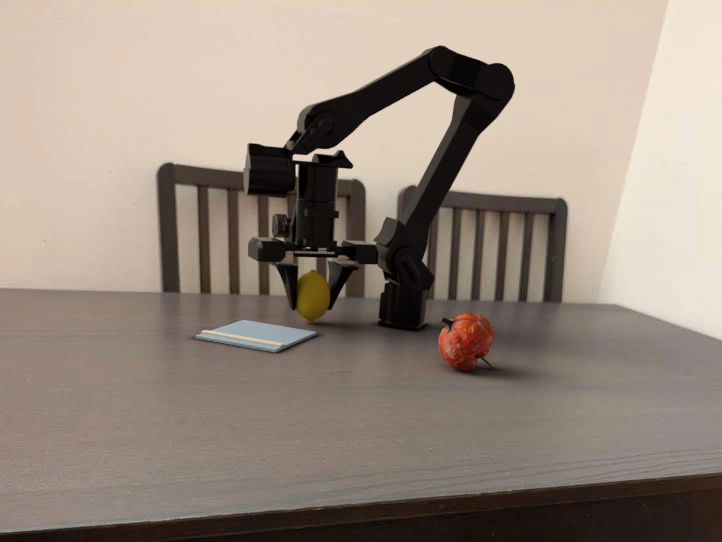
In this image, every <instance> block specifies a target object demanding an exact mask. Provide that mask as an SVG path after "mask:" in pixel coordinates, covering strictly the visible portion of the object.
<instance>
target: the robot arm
mask: <svg viewBox="0 0 722 542" xmlns="http://www.w3.org/2000/svg"><path fill="white" fill-rule="evenodd" d="M432 83H435V84H437V85H438V86H439V87H442V88H443V89H445V90H446V91H447V92H449V93H451V94H453V95H455V98H454V101H453V108H452V113H451V121H450V123H449V125H448V126H447V129H446V131H445V133H444V134H443V137H442V139H441V141H440V142H439V144H438V146H437V148H436V150H435V151H434V153H433V156H432V158H431V159H430V161H429V163H428V165H427V167H426V169H425V171H424V173H423V175H422V176H421V178H420V179H419V182H418V184H417V186H416V188H415V190H414V192H413V194H412V195H411V197H410V200H409V201H408V203H407V204H406V207H405V209H404V210H403V211H402V213H400V214H399V216H398V217H396V218H393V217H389V216H386V217H385V218H384V220H383V221H382V222H383V223H382V225H381V229H380V231H379V233H378V234H377V235H376V236H375V237H374V238H373V240H372V242H374V243H375V244H374V243H371V242H367V241H365V240H348V239H347V240H345V239H342V242H341V244H340V245H338V240H335V233H336V219H339V218H340V210H337V201H338V184H339V169H346V170H353V168H354V163H353V162H351V161H350V159H349V158H348V157H347V155H346V153H345V151H344V149H337V151H336V152H334V153H333V154H326V153H325V154H324V153H314V151H316V150H330V149H333V148H335V147H336V146H338V145H339V144H341V143H342V142H343V141H344V140H345V139H347V138H348V137H349V136H350V135H352V134H353V133H354V132H355V131H356V130H357V129H358V128H359V127H360V126H361V125H363V123H364V122H365V121H366V120H368V119H369V118H371V117H373V116H374V115H376V114H377V113H379V112H381V111H383V110H385V109H386V108H388V107H390V106H392V105H393V104H394V105H395V104H396V103H398V102H399V101H401V100H403V99H405V98H406V97H408V96H411V95H412V94H414V93H416V92H418V91H419V90H422V89H423V88H425V87H427V86H428V85H430V84H432ZM515 91H516V84H515V78H514V74H513V72H512V70H511V69H510V68H509V67H508V66H507V65H506V64H505V63H502V62H492V63H487V62H485V61H483V60H480V59H477V58H474V57H472V56H468V55H465V54H462V53H460V52H457V51H456V50H455V51H454V50H453V49H451V48H449V47H447V46H446V45H436V46H433V47H430V48H427V49H425V50H423V51H422V52H421V53H420V54H419V55H418V56H416V57H414V58H412V59H410V60H408V61H406V62H405V63H403V64H401V65H399V66H397V67H395V68H394V69H391V70H390V71H388V72H386V73H385V74H382V75H381V76H379V77H377V78H375V79H373V80H372V81H370V82H368V83H366V84H365V85H362V86H360V87H359V88H357V89H355V90H354V91H351V92H348V93H344V94H340V95H338V96H335V97H331V98H328V99H325V100H321V101H319V102H314V103H311V104H309V105H306V106H305V107H304V108H303V109H302V110H301V111H300V112H299V114H298V117H297V120H296V129H295V131H294V132H293V133H292V135H290V137H289V139H288V140H286V143H285V144H284V145H283V146H282V147H281V146H271V145H263V144H261V143H255V142H248V143H247V144H246V154H245V162H244V163H245V164H244V167H243V191H244V195H245V196H247V197H260V198H274V199H275V198H276V199H287V196H288V193H292V192H294V191H295V187H296V205H293V211H292V217H291V218H290V217H289V218H288V215H287V214H286V213H274V214H273V215H272V219H271V234H272V235H271V236H272V237H265V236H263V237H262V236H252V237H251V238H250V239H249V241H248V243H247V257H248V258H250V259H253V260H255V261H256V262H260V263H267V264H269V265H271V266H273V267H274V268H276V270H277V271H278V274H279V276H280V279H281V281H282V284H283V287H284V291H285V294H286V297H287V302H288V305H289V308H290V310H291V311H296V303H297V281H298V279H299V265H298V264H296V263H294V259H295V258H317V259H318V258H324V259H329V260H327V266H328V281H327V283H328V285H329V290H330V303H329V307H328V309H327V311H332V310H333V307H334V305H335V303H336V301H337V299H338V297H339V296H340V293H341V292H342V290H343V288H344V286H345V285H346V283H347V282H348V281H349V278H350V276H351V275H352V274H353V272H354V271H359V270H360V266H359V265H375V266H377V267H378V268H379V269H381V270H382V276H383V278H384V280H385V281H387V282H385V283H384V285H383V286H384V287H383V291H382V292H381V293H380V297H379V307H378V319H379V320H377V323H376V324H377V325H381V326H386V327H393V328H398V329H405V330H412V331H417V330H419V329H421V328H422V327H424V326H426V325H428V320H425V318H426V310H427V302H428V301H427V300H428V292H429V291H430V290H431V288H432V286H433V283H434V281H435V279H436V278H435V275H434V274H433V273H432V271H431V270H430V269H429V267H428V266H427V264H425V263H424V261H423V259H424V256H425V255H426V251H427V249H428V245H429V239H430V238H429V237H430V233H431V232H430V231H431V226H432V223H433V222H434V219H435V218H436V216H437V214H438V213H439V210H440V209H441V207H442V205H443V203H444V201H445V199H446V198H447V196H448V194H449V192H450V190H451V188H452V187H453V184H454V183H455V181H456V179H457V177H458V175H459V174H460V171H461V170H462V169H463V166H464V164H465V162H466V160H467V159H468V157H469V155H470V154H471V151H472V150H473V147H474V146H475V144H476V142H477V140H478V138H479V137H480V136H481V134H483V132H484V131H485V130H486V129H487V128H488V127H489V126H490V125H492V123H494V121H495V120H497V118H498V117H499V116H501V113H502V112H503V111H504V109H505V108H506V107H507V105H508V104H509V103H510V102H511V100H512V99H513V96H514V94H515ZM312 153H314V154H313V155H312V158H311V161H308V160H297V159H294V155H298V156H308V155H310V154H312ZM296 170H297V171H296ZM296 181H297V184H296ZM296 185H297V186H296ZM281 239H283V240H281ZM330 259H332V260H330ZM356 262H357V264H359V265H357V264H356Z"/></svg>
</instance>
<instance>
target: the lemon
mask: <svg viewBox="0 0 722 542" xmlns="http://www.w3.org/2000/svg"><path fill="white" fill-rule="evenodd" d="M329 303H330V290H329V285H328V281H327V279H326V278H325V277H324V276H323V275H322V274H320V273H319V272H317V270H316V269H310V270H309V271H307V272H305V273H303V274H301V275H300V276H299V277H298V281H297V303H296V309H295V311H296V312H297V313H298V314H299V316H300V317H302V318H304V319H305V320H306V322H307V323H308V324H313V323H314V322H315V321H316V320H317V319H320V318H321V317H323V316H324V315H325V314H326V312H327V311H328V310H327V309H328V307H329Z"/></svg>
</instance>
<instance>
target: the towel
mask: <svg viewBox="0 0 722 542" xmlns="http://www.w3.org/2000/svg"><path fill="white" fill-rule="evenodd" d="M316 335H318V332H317V331H313V330H307V329H301V328H295V327H289V326H282V325H278V324H271V323H266V322H260V321H254V320H248V319H242V320H239V321H235V322H233V323H230V324H226V325H222V326H220V327H217V328H213V329H211V330H208V329H204V330H201V331H200V333H199V334H198V333H197V334H196V335H194V338H195V339H196V340H202V341H208V342H214V343H220V344H226V345H231V346H235V347H241V348H248V349H252V350H258V351H264V352H270V353H274V354H275V353H278V352H280V351H282V350H285V349H287V348H289V347H291V346H294V345H296V344H299V343H300V342H304V341H305V340H307V339H310V338H313V337H314V336H316Z"/></svg>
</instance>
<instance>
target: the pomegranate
mask: <svg viewBox="0 0 722 542" xmlns="http://www.w3.org/2000/svg"><path fill="white" fill-rule="evenodd" d="M439 323H443V324H444V325H445V327H443V328H442V329H441V331H440V334H439V335H438V349H439V354H440V356H441V357H442V358H443V360H444V361H445V362H446V363H447V365H449V366H450V367H451V368H453V369H456V370H458V371H462V372H467V371H470V370H473V369H474V368H475V366H477V364H478V360H479V359H481V361H483V362H484V364H486V365H488V366H489V367H490V369H492V370H494V369H495V366H493V365H492V364H491V363H490V362H489V361H488V360H487V359H486V358H485V357H486V356H487V355H488V354H489V352H490V350H491V347H492V345H493V342H494V333H495V332H494V329H493V327H492V325H491V322H490V321H489V319H487V317H485V316H484V315H482V314H478V313H476V312H463V313H461V314H459V315H458V316H454V317H452V318H450V319H448V318H446V317H444V316H443V317H441V319H440V321H439Z"/></svg>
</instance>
